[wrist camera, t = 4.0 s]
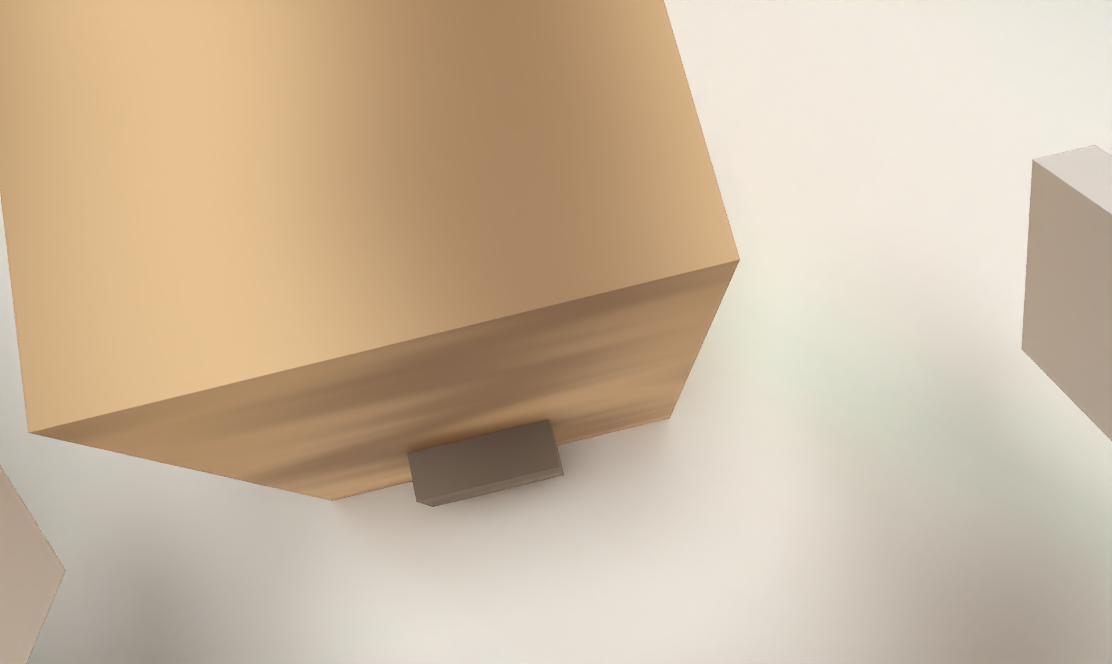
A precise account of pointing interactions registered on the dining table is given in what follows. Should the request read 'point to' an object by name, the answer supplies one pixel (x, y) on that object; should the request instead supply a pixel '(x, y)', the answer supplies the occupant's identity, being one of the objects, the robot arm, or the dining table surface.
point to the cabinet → (354, 233)
